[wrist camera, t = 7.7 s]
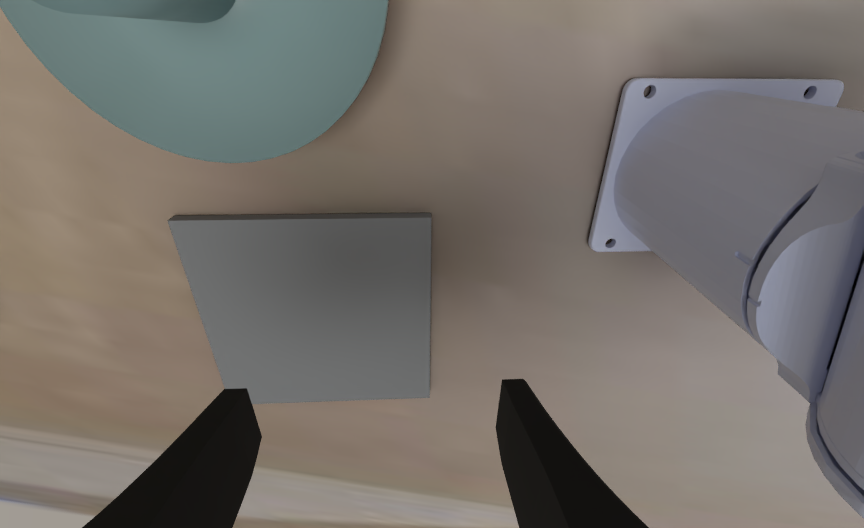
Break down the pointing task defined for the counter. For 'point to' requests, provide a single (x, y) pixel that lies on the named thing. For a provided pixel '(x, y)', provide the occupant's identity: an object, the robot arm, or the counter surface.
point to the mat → (313, 302)
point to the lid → (209, 67)
